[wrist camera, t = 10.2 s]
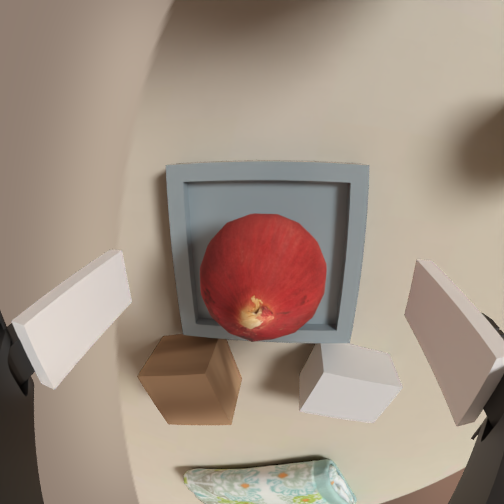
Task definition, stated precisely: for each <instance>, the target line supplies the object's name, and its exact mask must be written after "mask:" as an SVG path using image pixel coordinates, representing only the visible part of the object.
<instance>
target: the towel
mask: <svg viewBox="0 0 504 504" xmlns="http://www.w3.org/2000/svg"><path fill="white" fill-rule="evenodd" d="M183 477H184V483H185V485H186V486H187V487H188V489H189V490H190V491H191V492H193V493H194V494H195V496H196V497H197V498H198V499H199V500H200V501H201V502H203V503H204V504H356V503H357V500H356V497H355V495H354V493H353V492H352V490H351V489H350V487H349V486H348V484H347V482H346V480H345V479H344V477H343V475H342V474H341V472H340V470H339V469H338V467H337V466H336V465H335V463H334V462H333V461H332V460H329V459H325V460H318V461H310V462H301V463H291V464H282V465H273V466H263V467H254V468H243V469H192V470H188V471H187V472H186V473H185V474H184V476H183Z"/></svg>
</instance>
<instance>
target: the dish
mask: <svg viewBox="0 0 504 504" xmlns="http://www.w3.org/2000/svg"><path fill="white" fill-rule="evenodd" d="M166 181H167V197H168V211H169V224H170V235H171V245H172V255H173V264H174V273H175V281H176V289H177V296H178V304H179V311H180V317H181V324H182V330H183V335H188V336H197V337H207V338H218V339H231V340H245V341H249V340H246V339H243V338H241V337H238V336H235V335H232V334H230V333H228V332H227V331H226V330H225V329H224V328H223V327H222V326H220V325H219V324H218V323H217V322H216V321H215V320H214V319H213V318H212V317H211V315H210V314H209V311H208V309H207V307H206V305H205V303H204V300H203V298H202V296H201V290H200V266H201V263H202V260H203V257H204V254H205V251H206V248H207V246H208V244H209V242H210V240H211V239H212V238H213V237H214V236H215V235H216V234H217V233H218V232H219V231H220V230H221V229H222V227H223V226H224V225H225V224H226V223H228V222H230V221H233V220H236V219H238V218H241V217H244V216H246V215H249V214H254V213H257V214H279V215H281V216H283V217H286V218H288V219H291V220H293V221H296V222H298V223H300V224H301V225H302V226H303V227H304V228H305V229H306V230H307V231H308V232H309V233H310V234H311V235H312V236H313V237H314V238H315V239H316V241H317V242H318V244H319V247H320V249H321V252H322V254H323V257H324V259H325V262H326V266H327V272H326V283H325V292H324V295H323V297H322V299H321V301H320V303H319V306H318V308H317V310H316V312H315V314H314V316H313V317H312V318H311V319H310V320H309V321H308V322H307V323H305V324H304V325H303V326H302V327H301V328H300V329H298V330H297V331H296V332H295V333H292V334H289V335H286V336H282V337H279V338H276V339H271V340H262V342H284V343H350V339H351V334H352V328H353V323H354V317H355V311H356V305H357V298H358V291H359V284H360V277H361V269H362V261H363V252H364V243H365V232H366V220H367V206H368V189H369V165H365V164H355V163H339V162H318V161H272V160H262V161H216V162H195V163H179V164H171V165H166Z"/></svg>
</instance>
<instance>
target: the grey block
mask: <svg viewBox="0 0 504 504" xmlns="http://www.w3.org/2000/svg"><path fill="white" fill-rule="evenodd" d="M402 388H403V386H402V384H401V381H400V378H399V376H398V373H397V371H396V368H395V366H394V363H393V361H392V358H391V356H390V353H386V352H382V351H377V350H373V349H369V348H365V347H361V346H357V345H353V344H349V343H316V344H315V346H314V348H313V350H312V352H311V354H310V356H309V358H308V360H307V361H306V363H305V365H304V367H303V369H302V371H301V373H300V374H299V411H300V412H305V413H310V414H315V415H320V416H326V417H332V418H338V419H345V420H352V421H359V422H367V423H374V422H375V421H376V420H377V418H378V417H379V416H380V415H381V414H382V413H383V411H384V410H385V409H386V408H387V407H388V405H389V404H390V403H391V402H392V400H393V399H394V398H395V397H396V395H397V394H398V393H399V392H400V390H401V389H402Z"/></svg>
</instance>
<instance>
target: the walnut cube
mask: <svg viewBox="0 0 504 504" xmlns="http://www.w3.org/2000/svg"><path fill="white" fill-rule="evenodd" d="M137 377H138V378H139V380H140V382H141V383H142V385H143V387H144V388H145V390H146V391H147V393H148V395H149V396H150V398H151V399H152V401H153V402H154V404H155V405H156V407H157V408H158V410H159V411H160V413H161V414H162V416H163V417H164V419H165V420H166V421H167V423H168V424H175V425H231V424H232V420H233V415H234V411H235V407H236V402H237V398H238V394H239V389H240V385H241V381H242V377H241V375H240V372H239V370H238V367H237V365H236V362H235V360H234V357H233V355H232V352H231V350H230V347H229V345H228V342H227V340H226V339H218V338H207V337H197V336H188V335H183V334H177V335H169V336H163V337H162V339H161V340H160V342H159V343H158V345H157V346H156V348H155V349H154V351H153V353H152V354H151V356H150V357H149V359H148V360H147V362H146V363H145V365H144V366H143V368H142V370H141V371H140V373H139V374H138V376H137Z"/></svg>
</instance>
